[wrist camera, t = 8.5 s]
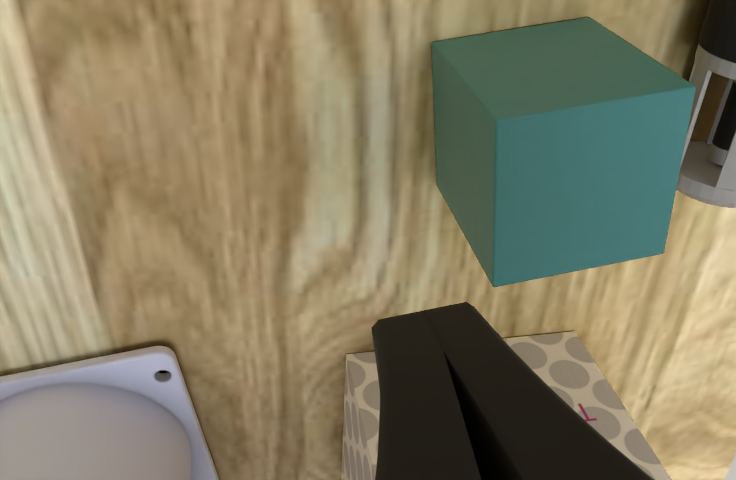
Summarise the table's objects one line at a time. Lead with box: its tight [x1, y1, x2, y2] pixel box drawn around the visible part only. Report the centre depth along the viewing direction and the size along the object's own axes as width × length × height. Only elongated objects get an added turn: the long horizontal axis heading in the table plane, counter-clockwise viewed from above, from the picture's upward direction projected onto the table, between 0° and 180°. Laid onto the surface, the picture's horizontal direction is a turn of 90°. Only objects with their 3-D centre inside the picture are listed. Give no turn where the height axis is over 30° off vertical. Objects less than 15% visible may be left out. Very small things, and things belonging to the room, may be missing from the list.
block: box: [431, 17, 696, 287], centre depth 17 cm, size 4×4×5 cm
